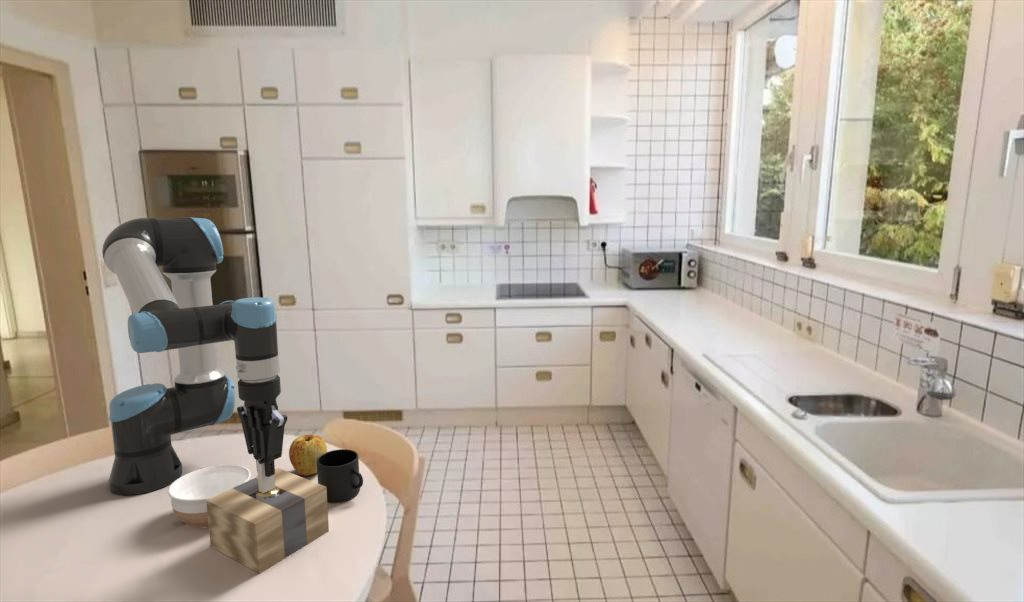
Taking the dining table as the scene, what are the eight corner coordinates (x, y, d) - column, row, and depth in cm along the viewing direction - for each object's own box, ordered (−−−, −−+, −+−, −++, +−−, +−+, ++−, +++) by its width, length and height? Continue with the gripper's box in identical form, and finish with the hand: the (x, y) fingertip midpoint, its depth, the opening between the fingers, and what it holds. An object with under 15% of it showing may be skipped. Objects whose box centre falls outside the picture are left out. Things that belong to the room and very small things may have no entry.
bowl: (269, 504, 124) (266, 472, 122) (204, 543, 109) (200, 507, 108) (221, 489, 130) (218, 458, 129) (154, 523, 116) (150, 489, 115)
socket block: (210, 546, 108) (206, 500, 107) (280, 509, 122) (277, 467, 120) (259, 573, 100) (255, 524, 99) (328, 530, 114) (326, 486, 112)
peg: (254, 533, 110) (250, 492, 109) (273, 523, 114) (270, 483, 112) (267, 540, 108) (264, 498, 106) (286, 529, 111) (284, 489, 110)
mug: (349, 510, 122) (347, 472, 120) (309, 497, 127) (307, 461, 125) (376, 490, 130) (375, 455, 129) (338, 480, 135) (336, 446, 134)
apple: (314, 461, 145) (312, 425, 144) (335, 470, 140) (333, 434, 138) (283, 474, 138) (281, 437, 136) (304, 484, 133) (301, 446, 131)
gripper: (220, 376, 106) (230, 488, 109) (261, 388, 99) (270, 506, 103) (256, 367, 112) (264, 473, 116) (297, 377, 105) (303, 489, 109)
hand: (267, 489), depth 109 cm, fingers closed
